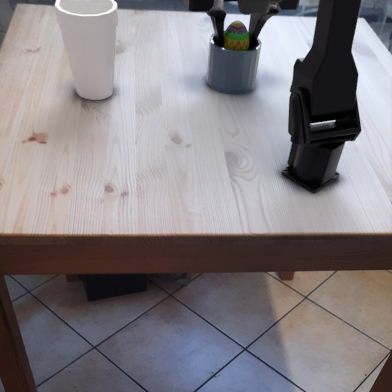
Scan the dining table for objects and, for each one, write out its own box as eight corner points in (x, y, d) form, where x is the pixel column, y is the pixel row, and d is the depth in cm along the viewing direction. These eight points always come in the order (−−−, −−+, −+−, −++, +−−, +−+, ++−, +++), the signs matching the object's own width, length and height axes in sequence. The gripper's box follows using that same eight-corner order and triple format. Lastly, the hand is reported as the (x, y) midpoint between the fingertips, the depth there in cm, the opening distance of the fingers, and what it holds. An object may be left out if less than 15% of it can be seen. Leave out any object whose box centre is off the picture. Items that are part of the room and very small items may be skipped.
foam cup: (70, 106, 81) (57, 17, 71) (64, 80, 86) (51, -7, 76) (126, 102, 83) (122, 15, 73) (117, 77, 88) (112, -8, 78)
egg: (214, 57, 87) (217, 18, 82) (234, 51, 89) (238, 13, 84) (232, 67, 85) (237, 29, 80) (252, 61, 87) (258, 23, 82)
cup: (264, 85, 90) (272, 43, 85) (231, 99, 86) (237, 56, 81) (230, 67, 94) (234, 26, 88) (196, 79, 90) (199, 37, 84)
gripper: (201, -44, 67) (194, 75, 79) (325, -43, 71) (299, 70, 83) (182, -67, 73) (179, 46, 86) (297, -66, 77) (277, 43, 90)
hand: (234, 52), depth 86 cm, fingers closed on egg, 5 cm apart
